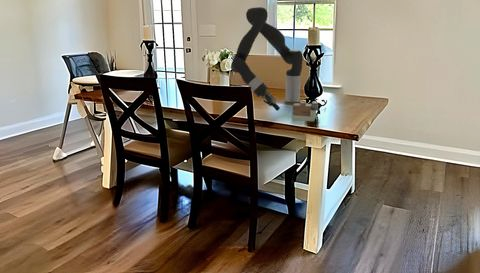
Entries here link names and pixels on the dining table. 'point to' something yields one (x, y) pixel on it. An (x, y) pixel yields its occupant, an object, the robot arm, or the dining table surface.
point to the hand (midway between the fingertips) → (278, 109)
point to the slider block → (301, 109)
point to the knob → (314, 106)
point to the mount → (306, 117)
